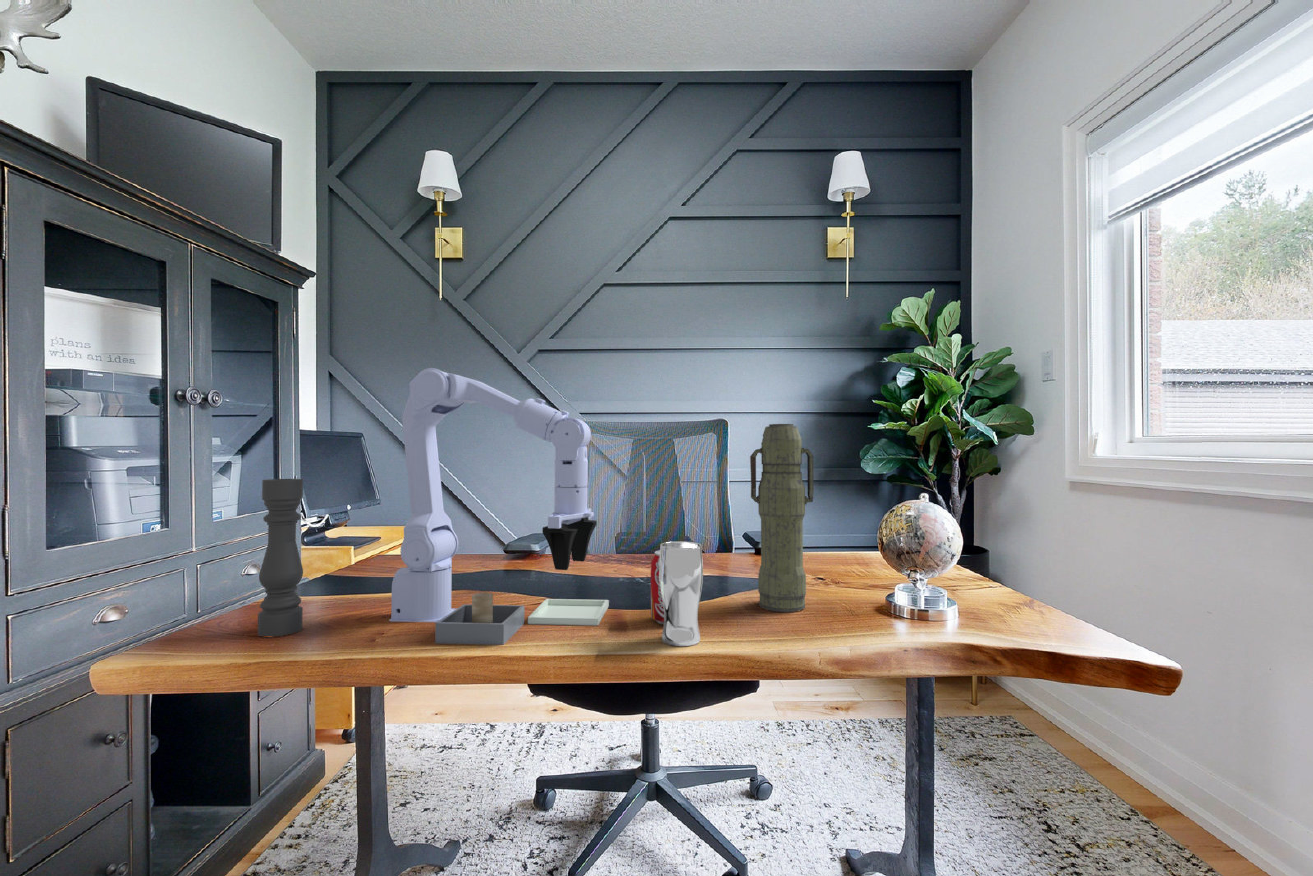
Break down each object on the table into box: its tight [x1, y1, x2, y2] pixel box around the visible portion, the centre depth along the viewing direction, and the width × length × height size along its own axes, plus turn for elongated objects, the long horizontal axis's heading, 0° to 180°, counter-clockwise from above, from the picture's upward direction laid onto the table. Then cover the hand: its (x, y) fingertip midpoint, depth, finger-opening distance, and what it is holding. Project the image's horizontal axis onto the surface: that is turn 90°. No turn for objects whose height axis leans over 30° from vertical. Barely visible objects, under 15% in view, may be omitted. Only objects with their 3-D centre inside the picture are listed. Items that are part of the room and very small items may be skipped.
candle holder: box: [257, 478, 304, 637], centre depth 93 cm, size 6×6×25 cm
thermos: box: [749, 423, 814, 613], centre depth 109 cm, size 9×12×35 cm
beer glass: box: [659, 540, 704, 647], centre depth 89 cm, size 7×7×15 cm
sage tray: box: [527, 598, 610, 626], centre depth 101 cm, size 12×12×2 cm
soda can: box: [650, 549, 664, 626], centre depth 99 cm, size 7×7×12 cm
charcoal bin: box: [434, 603, 525, 646], centre depth 91 cm, size 11×11×4 cm
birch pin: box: [471, 592, 494, 623], centre depth 91 cm, size 3×3×6 cm
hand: (570, 565), depth 98 cm, fingers open, 7 cm apart
